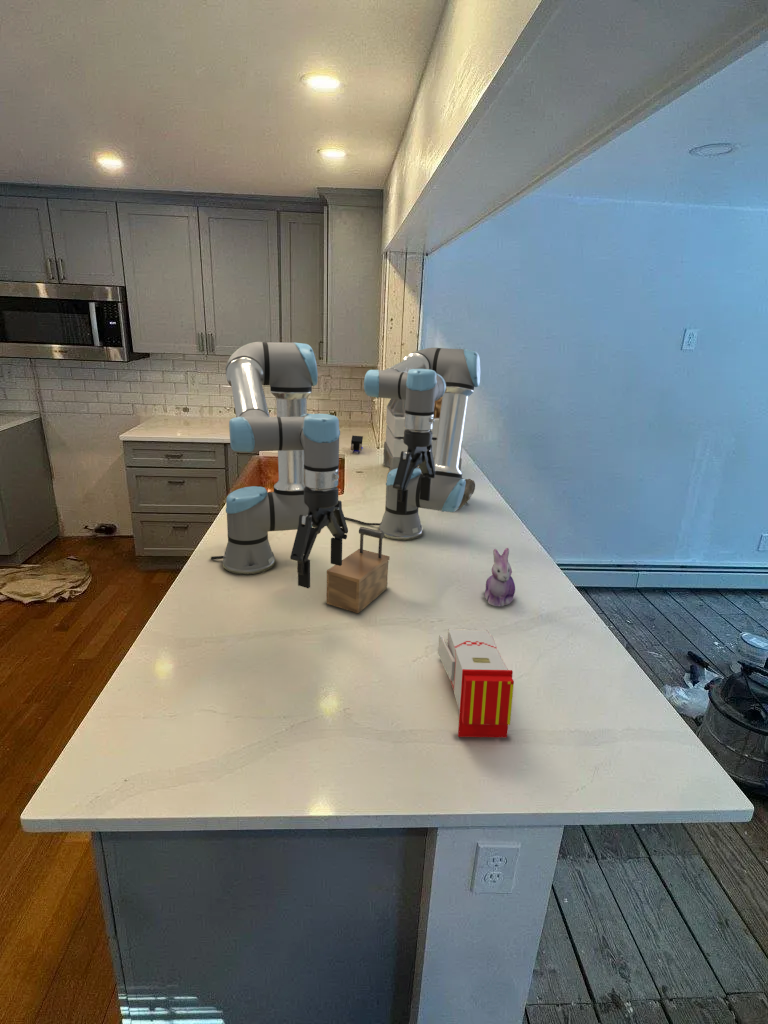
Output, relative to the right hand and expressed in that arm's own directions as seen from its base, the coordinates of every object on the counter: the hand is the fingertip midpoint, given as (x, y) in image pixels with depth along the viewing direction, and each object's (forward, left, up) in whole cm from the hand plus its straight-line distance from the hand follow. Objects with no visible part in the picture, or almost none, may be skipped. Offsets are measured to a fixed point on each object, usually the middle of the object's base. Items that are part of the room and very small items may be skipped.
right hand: (413, 506), depth 156 cm
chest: (-3, -17, -24) cm, 29 cm away
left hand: (+8, -36, -7) cm, 38 cm away
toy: (+44, -23, -24) cm, 55 cm away
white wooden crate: (-83, +84, -24) cm, 120 cm away
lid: (-3, -16, -15) cm, 22 cm away
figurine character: (-133, +85, -24) cm, 159 cm away
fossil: (-41, +66, -24) cm, 81 cm away
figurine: (+22, +14, -24) cm, 35 cm away
